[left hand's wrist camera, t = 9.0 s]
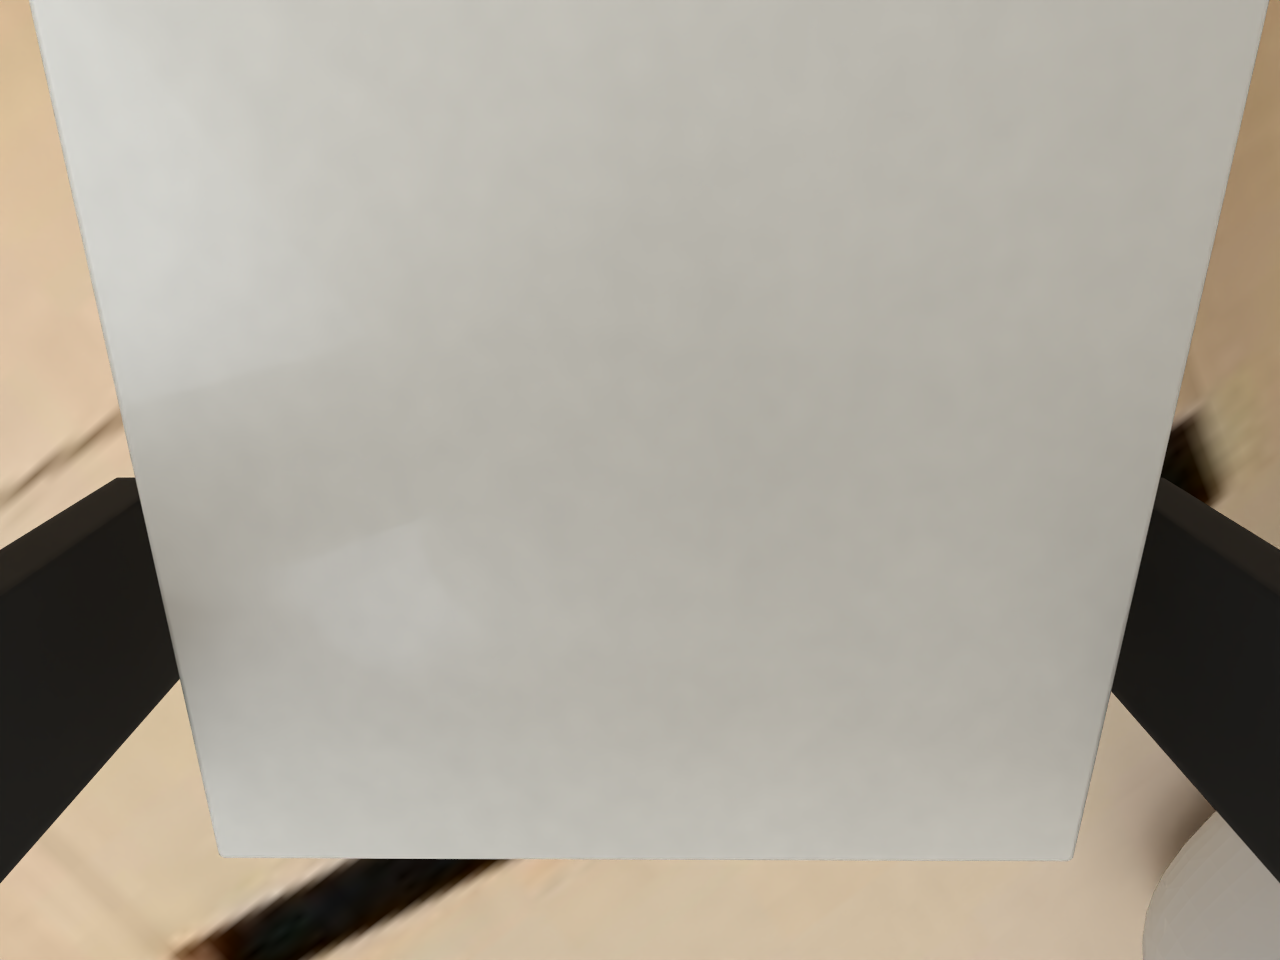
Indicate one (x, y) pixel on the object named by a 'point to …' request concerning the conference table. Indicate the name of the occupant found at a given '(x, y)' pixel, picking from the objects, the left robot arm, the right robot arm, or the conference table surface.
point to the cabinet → (648, 403)
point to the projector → (1214, 902)
